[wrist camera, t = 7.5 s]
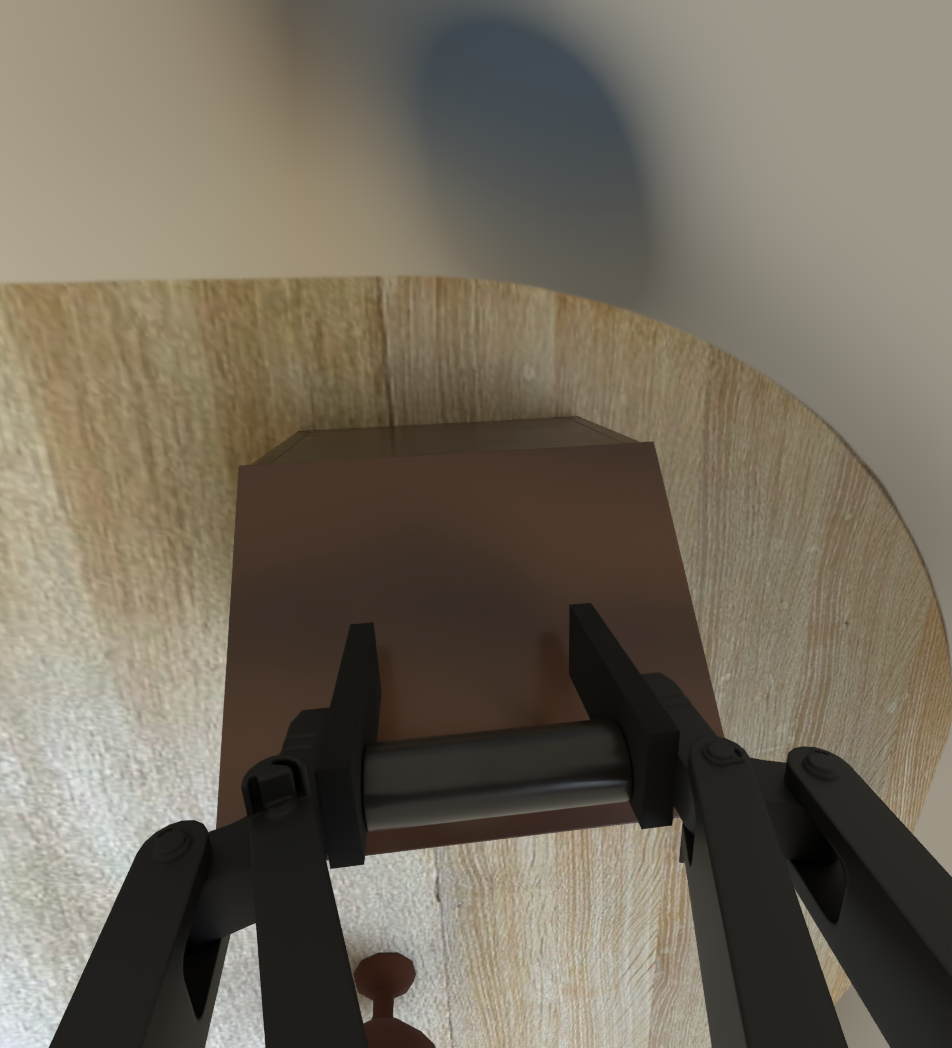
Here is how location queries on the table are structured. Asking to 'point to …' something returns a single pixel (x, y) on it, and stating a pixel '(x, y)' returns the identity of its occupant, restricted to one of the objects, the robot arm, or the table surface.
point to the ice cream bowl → (388, 1001)
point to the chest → (440, 439)
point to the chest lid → (457, 629)
